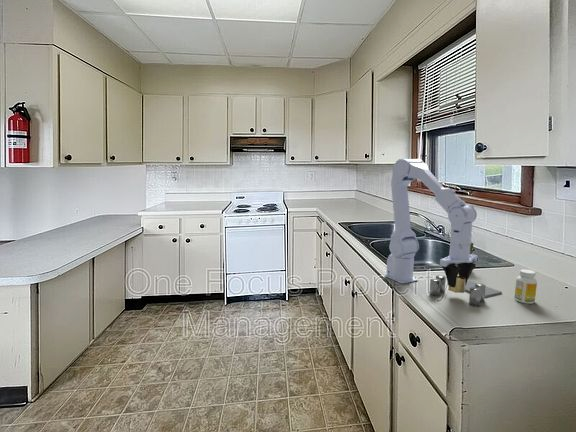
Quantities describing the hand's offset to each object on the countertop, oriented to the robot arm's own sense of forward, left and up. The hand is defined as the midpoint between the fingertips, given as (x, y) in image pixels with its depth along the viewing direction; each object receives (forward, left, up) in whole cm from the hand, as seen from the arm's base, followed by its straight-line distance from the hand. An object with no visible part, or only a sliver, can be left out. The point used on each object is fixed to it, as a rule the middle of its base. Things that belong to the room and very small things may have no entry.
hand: (457, 285), depth 113 cm
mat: (-2, +12, -4) cm, 13 cm away
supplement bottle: (+11, +17, -4) cm, 21 cm away
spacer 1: (-5, -5, -4) cm, 8 cm away
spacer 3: (+7, 0, -4) cm, 8 cm away
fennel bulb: (-19, +27, -4) cm, 33 cm away
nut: (0, 0, -2) cm, 2 cm away
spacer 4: (+5, +5, -4) cm, 8 cm away
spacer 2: (-6, 0, -4) cm, 8 cm away
